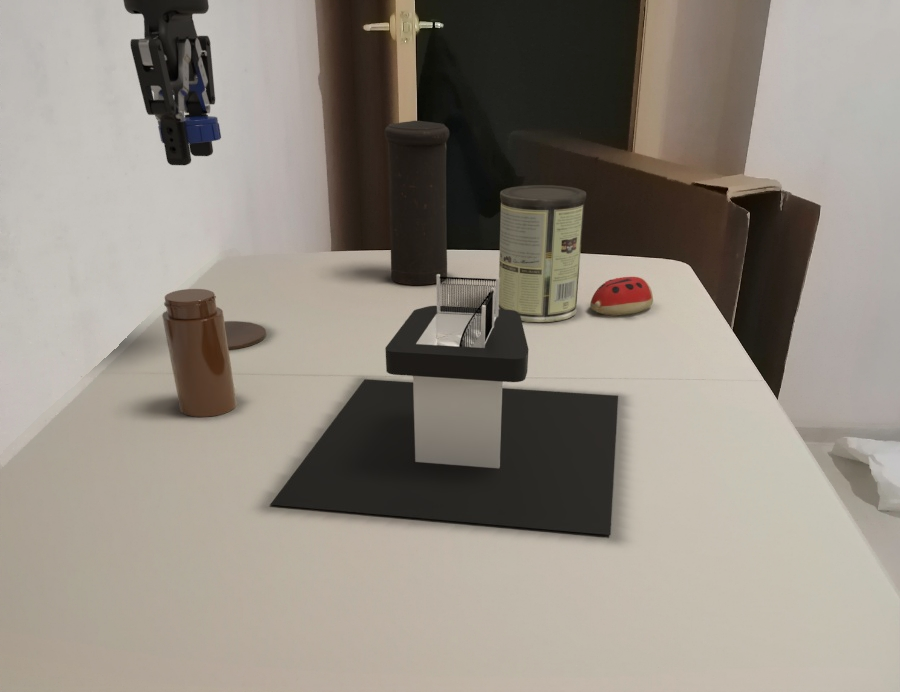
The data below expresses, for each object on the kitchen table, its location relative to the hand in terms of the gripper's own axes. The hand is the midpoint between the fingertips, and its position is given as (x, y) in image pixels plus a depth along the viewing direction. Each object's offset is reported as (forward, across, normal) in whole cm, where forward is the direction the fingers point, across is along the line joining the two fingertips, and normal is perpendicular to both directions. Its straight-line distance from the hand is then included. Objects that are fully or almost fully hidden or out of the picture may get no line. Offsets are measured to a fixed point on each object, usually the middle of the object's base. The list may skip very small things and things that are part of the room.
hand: (191, 159), depth 85 cm
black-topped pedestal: (+20, +22, +30) cm, 43 cm away
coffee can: (+20, -20, +35) cm, 45 cm away
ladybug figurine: (+20, -22, +46) cm, 55 cm away
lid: (-3, 0, 0) cm, 3 cm away
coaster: (+20, -5, -1) cm, 20 cm away
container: (+20, -34, +18) cm, 43 cm away
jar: (+20, +16, +4) cm, 26 cm away
